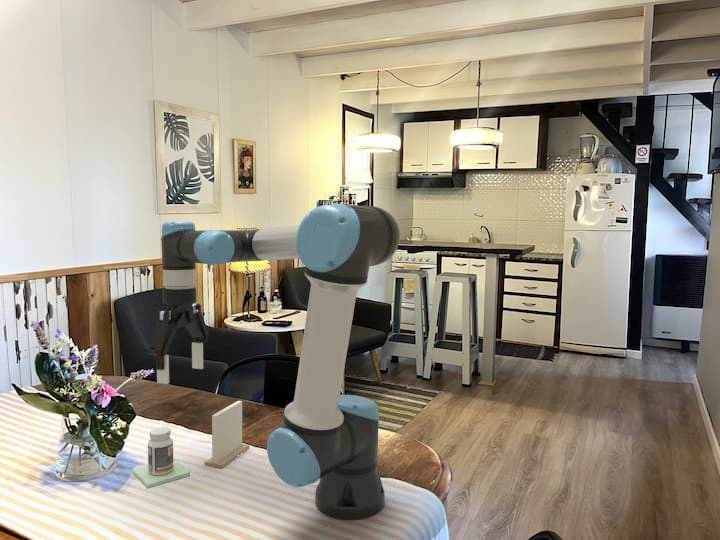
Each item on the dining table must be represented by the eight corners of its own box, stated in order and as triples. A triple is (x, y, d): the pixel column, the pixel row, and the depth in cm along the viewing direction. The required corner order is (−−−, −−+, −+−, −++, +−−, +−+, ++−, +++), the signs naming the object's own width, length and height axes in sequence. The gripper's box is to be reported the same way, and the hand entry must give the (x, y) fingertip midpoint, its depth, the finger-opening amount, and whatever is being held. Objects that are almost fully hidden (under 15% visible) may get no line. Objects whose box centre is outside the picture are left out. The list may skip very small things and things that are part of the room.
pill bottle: (177, 466, 135) (177, 426, 134) (167, 477, 129) (166, 435, 128) (155, 464, 136) (154, 425, 135) (143, 475, 130) (142, 434, 129)
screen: (233, 445, 150) (233, 399, 149) (249, 448, 148) (249, 401, 147) (204, 465, 138) (204, 415, 137) (221, 468, 136) (221, 417, 135)
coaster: (189, 475, 132) (189, 472, 132) (147, 488, 126) (147, 484, 126) (173, 461, 140) (173, 457, 140) (132, 472, 133) (132, 469, 133)
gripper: (196, 281, 144) (197, 361, 146) (129, 292, 120) (132, 388, 122) (221, 282, 142) (223, 364, 144) (158, 293, 118) (161, 391, 120)
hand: (181, 375), depth 133 cm, fingers open, 13 cm apart
